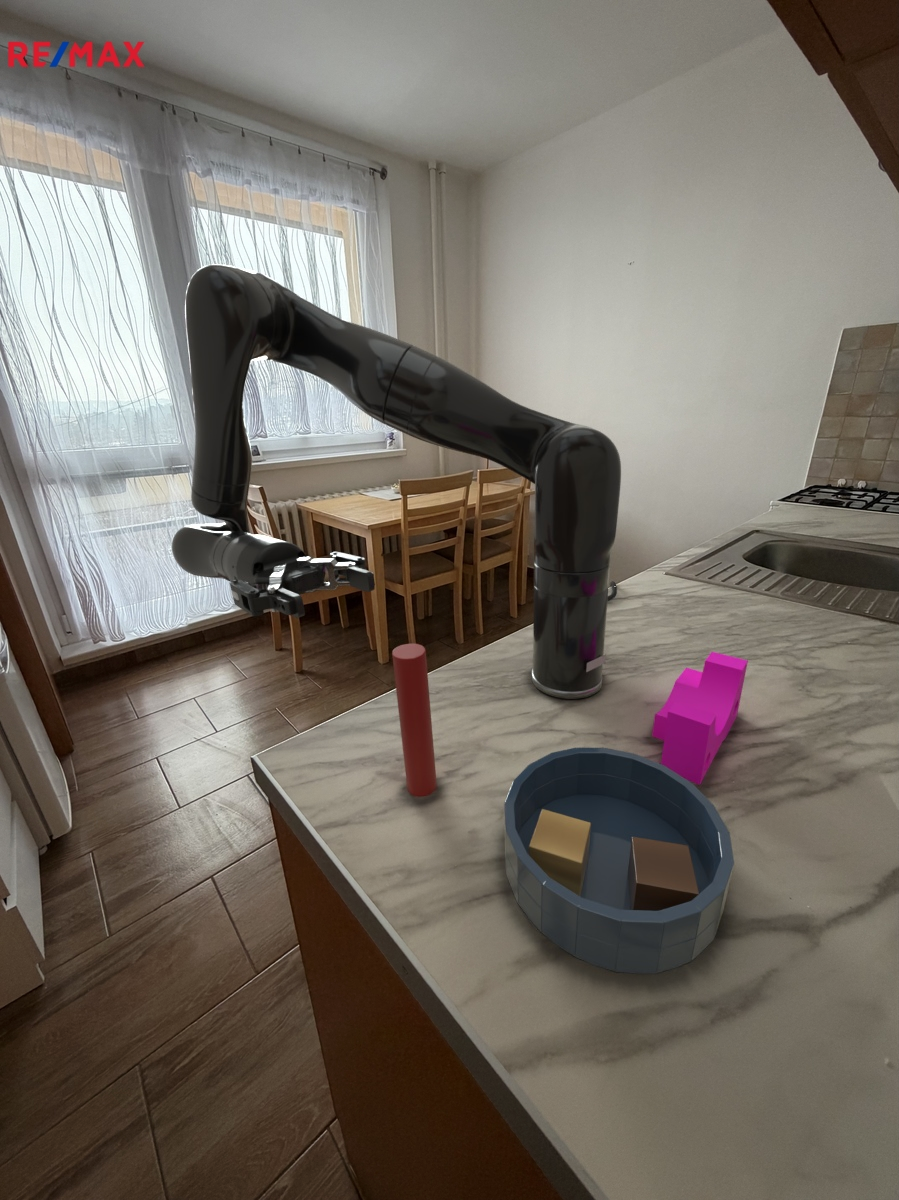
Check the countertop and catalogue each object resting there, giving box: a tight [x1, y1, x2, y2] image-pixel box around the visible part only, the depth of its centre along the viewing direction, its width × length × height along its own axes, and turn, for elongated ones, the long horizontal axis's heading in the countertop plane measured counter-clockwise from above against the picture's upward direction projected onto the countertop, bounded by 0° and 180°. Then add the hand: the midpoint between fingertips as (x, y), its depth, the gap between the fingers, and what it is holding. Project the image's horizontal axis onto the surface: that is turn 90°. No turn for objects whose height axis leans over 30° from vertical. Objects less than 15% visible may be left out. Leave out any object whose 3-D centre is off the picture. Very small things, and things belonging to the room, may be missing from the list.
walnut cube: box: [628, 837, 699, 911], centre depth 36 cm, size 4×4×4 cm
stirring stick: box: [391, 643, 438, 798], centre depth 46 cm, size 3×3×16 cm
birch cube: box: [529, 809, 591, 896], centre depth 38 cm, size 4×4×4 cm
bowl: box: [503, 747, 735, 975], centre depth 39 cm, size 17×17×6 cm
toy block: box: [652, 651, 749, 785], centre depth 53 cm, size 15×6×8 cm, turn 139°
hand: (338, 594), depth 49 cm, fingers open, 8 cm apart
